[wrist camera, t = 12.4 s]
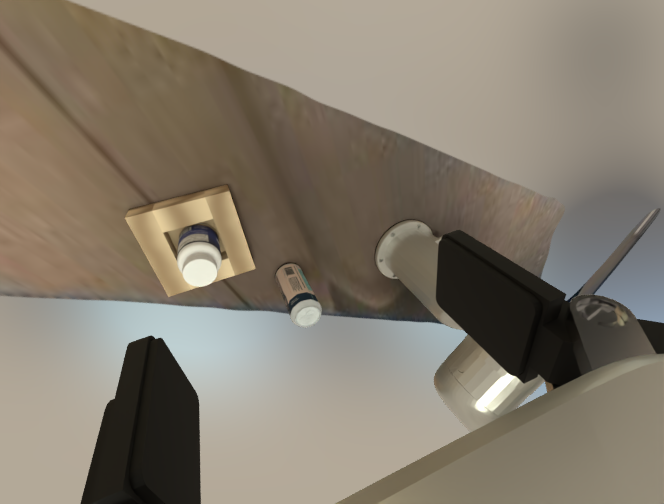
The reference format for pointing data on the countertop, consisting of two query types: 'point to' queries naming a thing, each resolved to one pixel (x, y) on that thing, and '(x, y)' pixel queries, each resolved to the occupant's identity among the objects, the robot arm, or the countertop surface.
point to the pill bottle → (199, 254)
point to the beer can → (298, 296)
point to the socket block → (172, 217)
